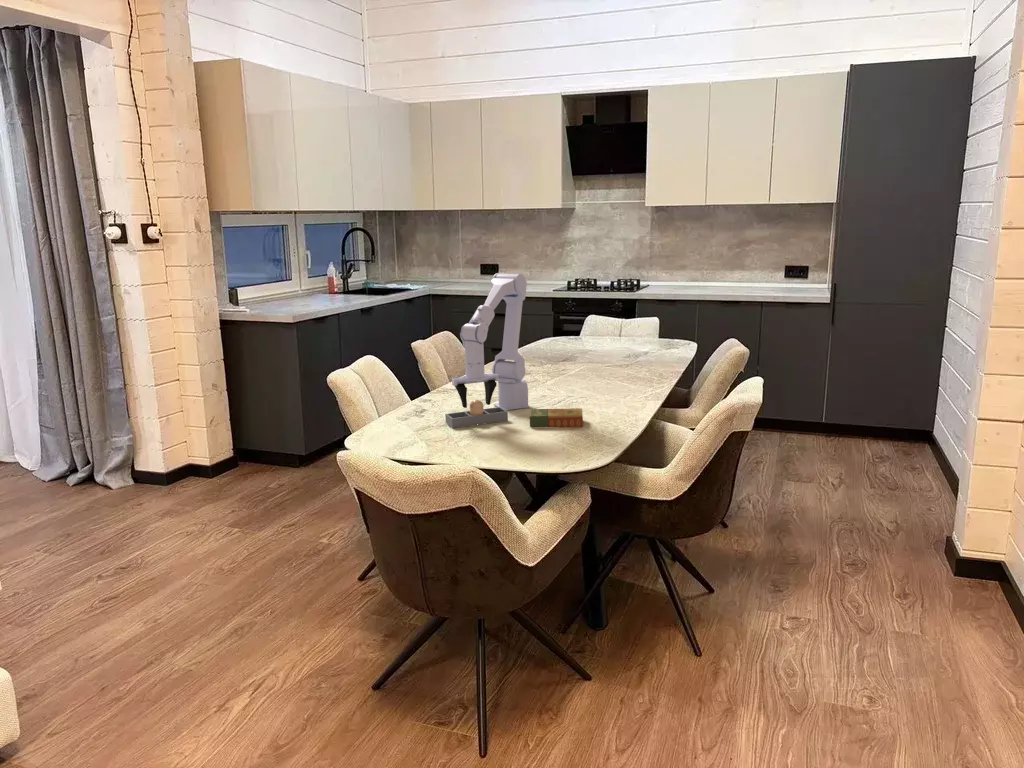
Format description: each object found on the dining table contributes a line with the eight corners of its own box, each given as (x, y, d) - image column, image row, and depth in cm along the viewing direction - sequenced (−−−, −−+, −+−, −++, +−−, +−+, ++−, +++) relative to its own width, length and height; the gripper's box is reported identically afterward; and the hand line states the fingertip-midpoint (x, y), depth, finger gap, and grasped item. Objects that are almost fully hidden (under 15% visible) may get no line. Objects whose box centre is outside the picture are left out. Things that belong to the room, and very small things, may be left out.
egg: (480, 416, 234) (480, 397, 233) (485, 419, 230) (485, 400, 229) (468, 418, 233) (467, 399, 231) (472, 421, 229) (472, 402, 228)
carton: (583, 428, 223) (583, 414, 222) (529, 429, 225) (529, 415, 224) (582, 420, 232) (582, 407, 231) (530, 421, 233) (530, 408, 232)
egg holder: (500, 415, 238) (500, 406, 237) (507, 420, 232) (507, 411, 232) (445, 423, 231) (445, 413, 231) (452, 428, 226) (451, 418, 225)
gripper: (456, 367, 221) (458, 411, 224) (501, 362, 227) (503, 405, 230) (448, 363, 228) (451, 406, 231) (493, 358, 233) (494, 400, 236)
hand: (476, 405), depth 231 cm, fingers open, 7 cm apart
